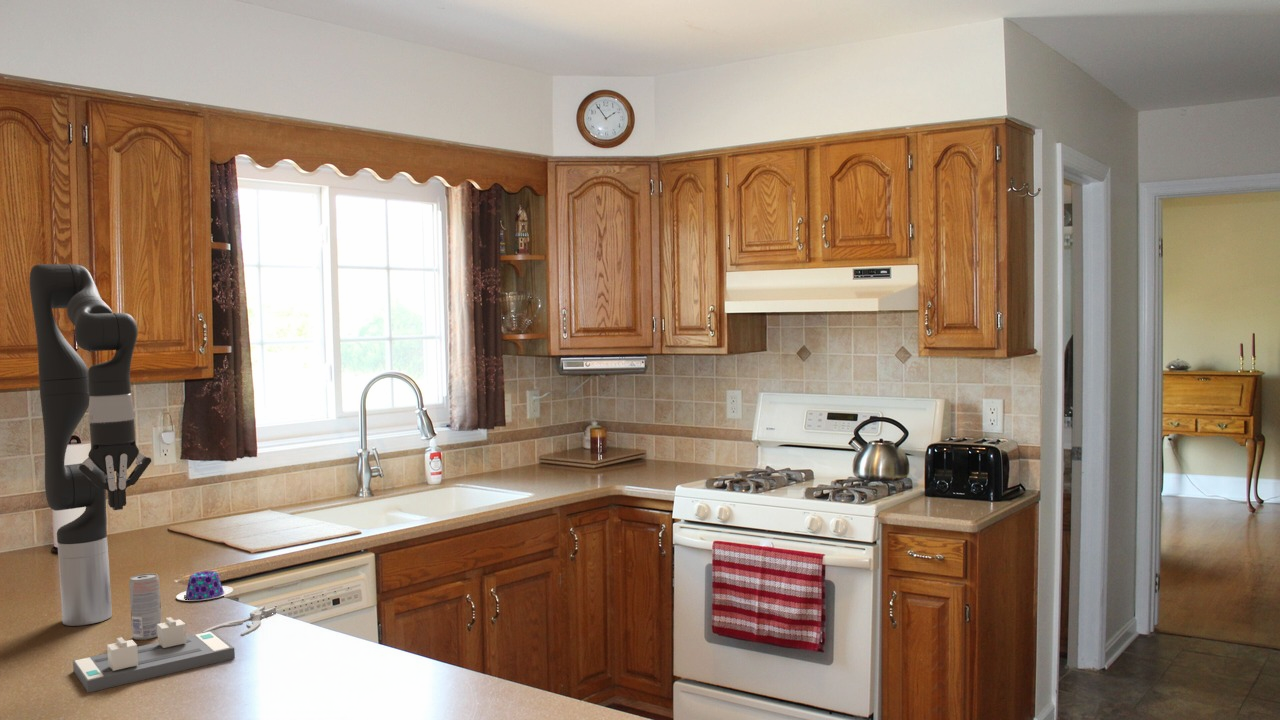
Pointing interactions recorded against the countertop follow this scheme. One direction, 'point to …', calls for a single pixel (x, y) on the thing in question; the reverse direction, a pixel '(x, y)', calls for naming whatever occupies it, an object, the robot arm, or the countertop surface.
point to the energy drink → (145, 605)
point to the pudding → (204, 587)
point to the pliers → (254, 616)
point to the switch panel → (154, 661)
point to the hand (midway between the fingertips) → (117, 509)
